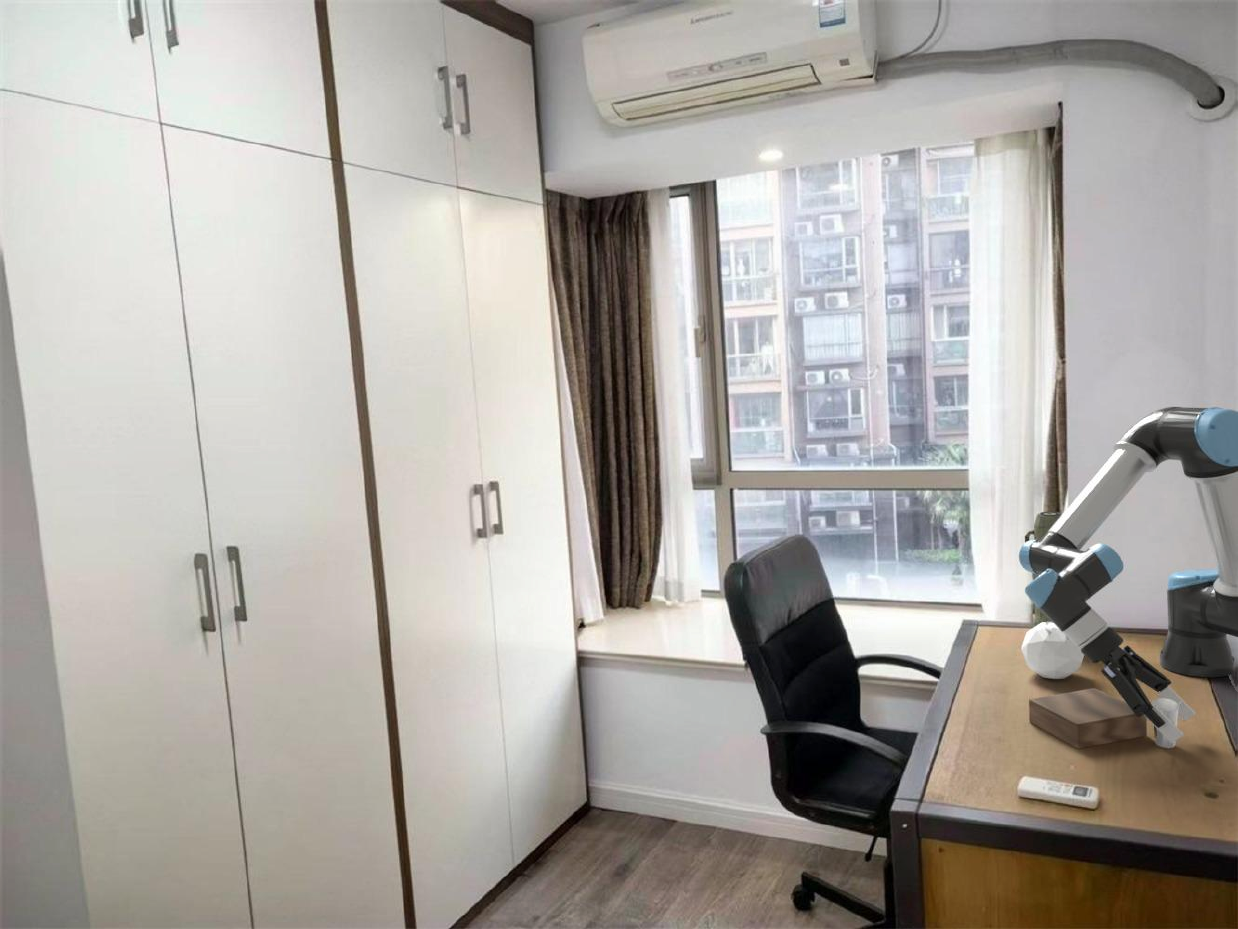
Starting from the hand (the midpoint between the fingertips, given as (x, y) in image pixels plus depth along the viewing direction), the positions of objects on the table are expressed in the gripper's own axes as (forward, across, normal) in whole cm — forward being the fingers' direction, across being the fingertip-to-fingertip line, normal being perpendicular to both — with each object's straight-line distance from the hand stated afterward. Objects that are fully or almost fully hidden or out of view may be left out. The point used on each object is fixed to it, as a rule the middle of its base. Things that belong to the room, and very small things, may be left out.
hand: (1184, 728), depth 170 cm
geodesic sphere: (-19, -27, -25) cm, 42 cm away
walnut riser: (-9, 0, -15) cm, 18 cm away
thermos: (-24, -50, -30) cm, 64 cm away
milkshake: (+1, 0, -5) cm, 5 cm away
